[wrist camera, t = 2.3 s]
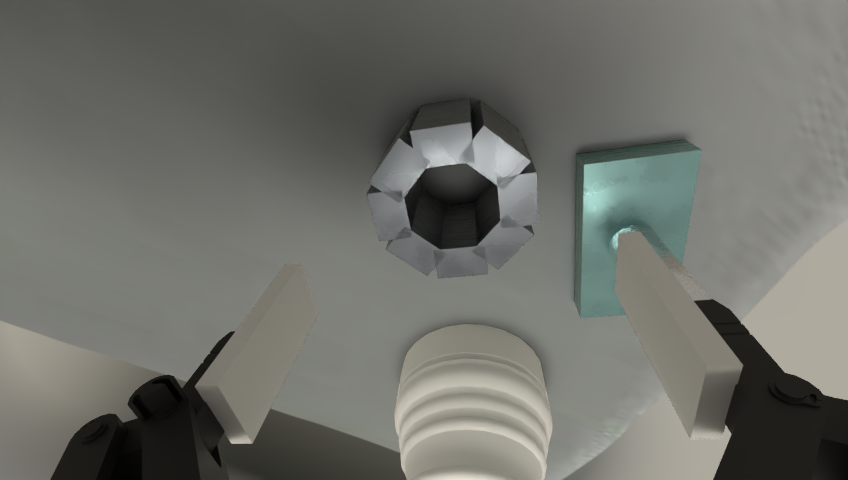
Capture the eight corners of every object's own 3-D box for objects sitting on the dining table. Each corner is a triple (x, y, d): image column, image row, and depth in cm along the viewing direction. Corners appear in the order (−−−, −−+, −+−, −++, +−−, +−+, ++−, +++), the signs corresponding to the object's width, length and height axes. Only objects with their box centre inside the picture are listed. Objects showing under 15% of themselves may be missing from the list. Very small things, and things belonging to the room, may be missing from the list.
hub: (375, 112, 25) (352, 139, 20) (519, 89, 24) (534, 112, 19) (403, 234, 30) (390, 282, 25) (526, 221, 28) (540, 269, 23)
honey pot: (397, 409, 40) (353, 661, 25) (408, 313, 34) (358, 574, 18) (523, 429, 40) (559, 696, 24) (560, 336, 33) (640, 621, 18)
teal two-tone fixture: (576, 154, 25) (623, 218, 18) (685, 139, 24) (786, 201, 17) (574, 300, 31) (609, 397, 24) (662, 294, 30) (728, 393, 22)
